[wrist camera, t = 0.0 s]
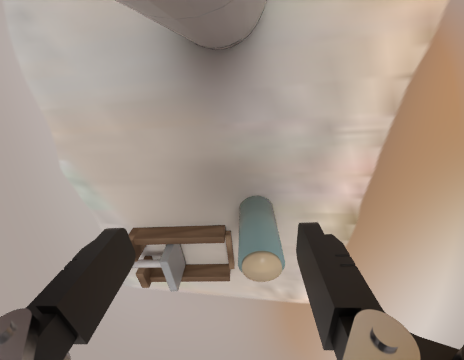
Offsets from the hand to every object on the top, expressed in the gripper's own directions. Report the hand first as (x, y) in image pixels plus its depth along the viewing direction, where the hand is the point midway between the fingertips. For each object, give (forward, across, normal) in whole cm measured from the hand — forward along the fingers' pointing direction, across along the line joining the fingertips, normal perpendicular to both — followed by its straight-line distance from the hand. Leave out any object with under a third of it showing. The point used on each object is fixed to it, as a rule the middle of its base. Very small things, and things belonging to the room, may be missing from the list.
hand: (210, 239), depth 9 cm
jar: (+18, -3, +11) cm, 21 cm away
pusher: (+18, +14, +19) cm, 30 cm away
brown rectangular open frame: (+18, +9, +19) cm, 28 cm away
